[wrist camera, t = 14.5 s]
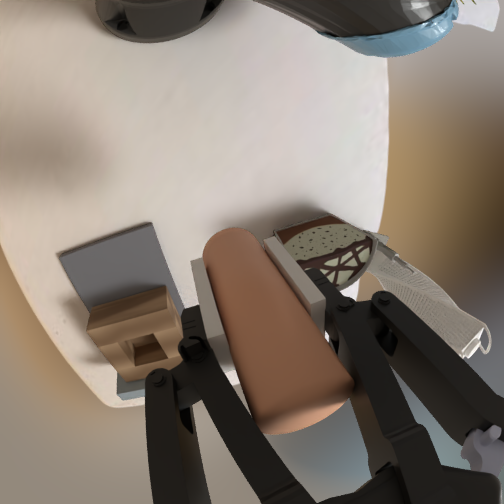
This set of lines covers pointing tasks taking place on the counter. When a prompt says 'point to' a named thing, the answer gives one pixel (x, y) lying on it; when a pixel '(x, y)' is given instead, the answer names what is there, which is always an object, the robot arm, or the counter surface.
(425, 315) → the skyscraper
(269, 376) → the dowel
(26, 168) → the counter surface
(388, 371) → the robot arm
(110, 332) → the block
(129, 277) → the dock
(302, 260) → the food container
